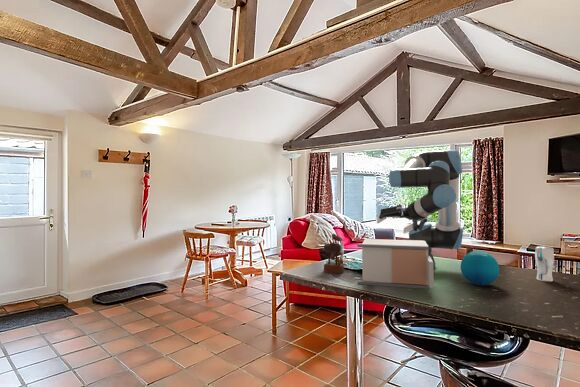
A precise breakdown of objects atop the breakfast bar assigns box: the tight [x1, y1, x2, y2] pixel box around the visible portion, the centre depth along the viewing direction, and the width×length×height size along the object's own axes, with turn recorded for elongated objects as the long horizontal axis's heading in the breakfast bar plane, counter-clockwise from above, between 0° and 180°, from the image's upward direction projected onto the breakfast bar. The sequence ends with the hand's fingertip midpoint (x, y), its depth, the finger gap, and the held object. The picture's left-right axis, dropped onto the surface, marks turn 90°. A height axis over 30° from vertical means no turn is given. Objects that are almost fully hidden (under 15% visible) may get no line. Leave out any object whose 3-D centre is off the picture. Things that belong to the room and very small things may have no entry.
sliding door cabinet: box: [356, 238, 430, 290], centre depth 156 cm, size 30×18×18 cm, turn 73°
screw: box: [339, 241, 347, 263], centre depth 193 cm, size 13×5×5 cm
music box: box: [318, 233, 345, 275], centre depth 176 cm, size 15×11×20 cm
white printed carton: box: [534, 245, 555, 283], centre depth 154 cm, size 7×7×15 cm
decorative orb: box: [460, 250, 500, 287], centre depth 148 cm, size 15×15×15 cm
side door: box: [392, 248, 435, 289], centre depth 140 cm, size 16×14×15 cm
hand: (391, 225), depth 151 cm, fingers open, 13 cm apart
